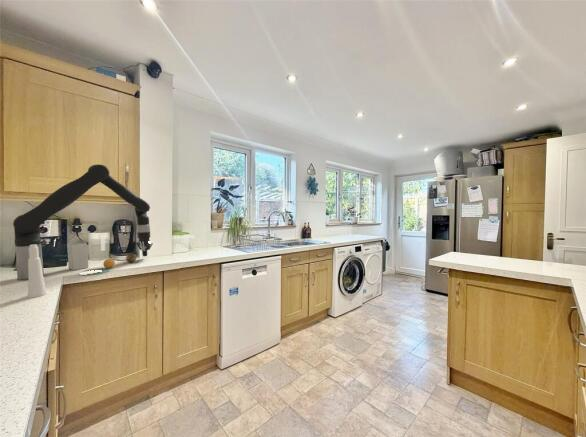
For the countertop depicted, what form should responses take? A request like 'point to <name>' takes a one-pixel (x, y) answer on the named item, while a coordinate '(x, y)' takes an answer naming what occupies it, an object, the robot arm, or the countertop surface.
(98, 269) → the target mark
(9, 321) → the countertop surface
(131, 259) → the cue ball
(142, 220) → the robot arm
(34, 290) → the cosmetic bottle
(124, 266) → the countertop surface
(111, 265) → the object ball
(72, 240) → the milk carton
